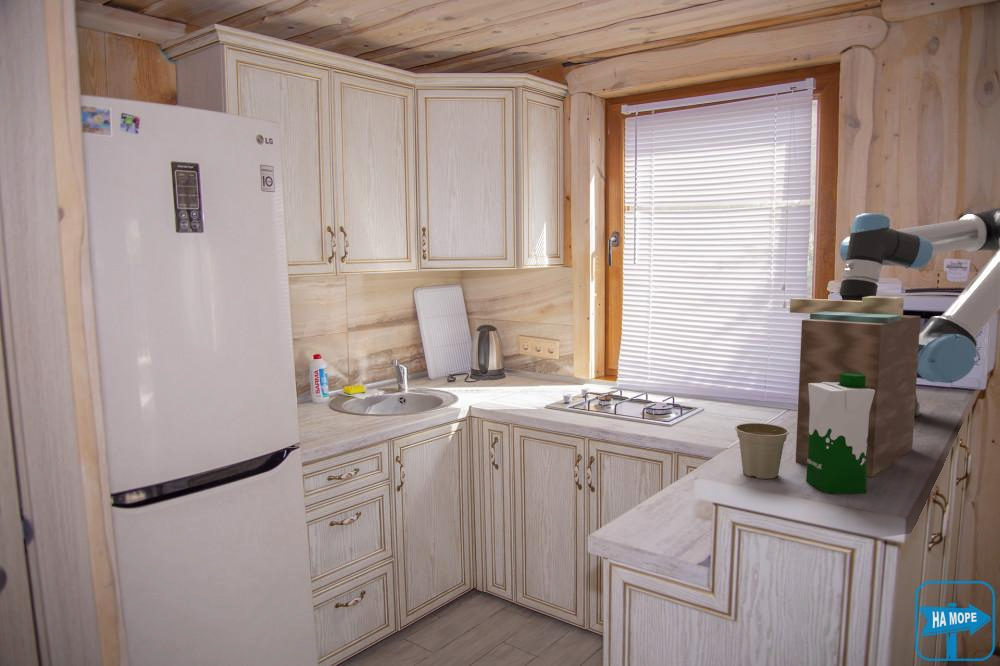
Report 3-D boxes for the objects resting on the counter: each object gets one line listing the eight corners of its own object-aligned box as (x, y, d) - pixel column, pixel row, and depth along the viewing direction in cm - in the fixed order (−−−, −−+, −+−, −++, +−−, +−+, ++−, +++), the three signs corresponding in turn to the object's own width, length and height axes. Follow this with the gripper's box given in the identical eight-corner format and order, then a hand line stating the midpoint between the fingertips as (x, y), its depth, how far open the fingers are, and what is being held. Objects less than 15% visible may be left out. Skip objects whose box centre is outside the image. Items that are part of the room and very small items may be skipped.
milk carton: (874, 494, 121) (881, 378, 118) (823, 496, 120) (829, 379, 118) (845, 478, 129) (851, 369, 127) (797, 479, 129) (802, 370, 126)
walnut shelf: (795, 461, 140) (802, 314, 137) (841, 437, 158) (848, 307, 155) (872, 477, 130) (881, 319, 127) (912, 449, 149) (920, 311, 146)
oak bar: (786, 313, 154) (787, 294, 153) (797, 311, 158) (798, 293, 158) (893, 318, 139) (895, 298, 139) (902, 317, 143) (903, 297, 143)
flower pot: (761, 485, 126) (763, 437, 125) (722, 471, 134) (723, 426, 133) (798, 477, 130) (800, 431, 129) (758, 464, 138) (760, 420, 137)
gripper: (809, 279, 174) (792, 364, 174) (890, 275, 150) (872, 374, 150) (833, 286, 176) (818, 370, 176) (918, 283, 152) (900, 380, 152)
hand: (842, 372), depth 163 cm, fingers open, 13 cm apart
